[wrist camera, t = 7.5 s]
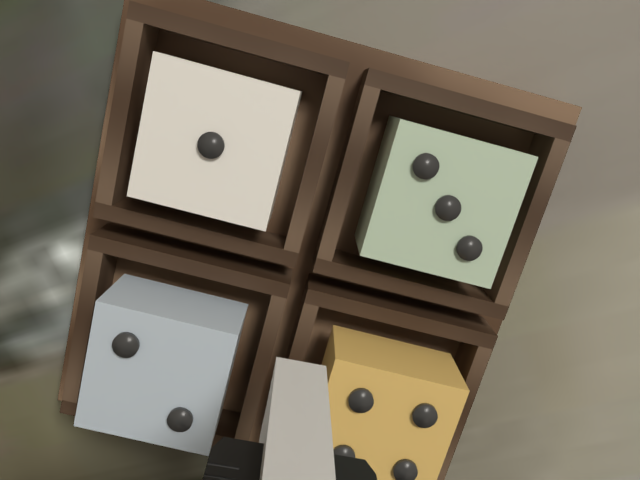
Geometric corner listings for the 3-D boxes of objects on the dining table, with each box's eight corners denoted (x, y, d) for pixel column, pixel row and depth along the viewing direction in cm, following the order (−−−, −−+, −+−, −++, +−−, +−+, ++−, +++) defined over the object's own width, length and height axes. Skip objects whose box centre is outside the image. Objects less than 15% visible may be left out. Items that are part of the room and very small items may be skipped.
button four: (414, 456, 24) (428, 509, 21) (302, 430, 24) (300, 480, 21) (450, 353, 23) (471, 394, 20) (332, 324, 23) (335, 361, 20)
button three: (469, 265, 24) (492, 291, 21) (354, 235, 23) (360, 257, 20) (509, 148, 22) (540, 157, 19) (389, 115, 22) (401, 119, 19)
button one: (271, 214, 23) (264, 232, 20) (150, 182, 23) (124, 197, 20) (302, 91, 22) (300, 91, 19) (175, 56, 21) (151, 50, 18)
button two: (221, 411, 24) (207, 459, 21) (103, 384, 23) (71, 429, 20) (248, 304, 23) (237, 337, 19) (124, 273, 22) (93, 302, 19)
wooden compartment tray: (431, 460, 28) (449, 518, 25) (75, 378, 27) (36, 425, 23) (560, 106, 24) (607, 108, 20) (143, -13, 23) (108, -34, 19)
